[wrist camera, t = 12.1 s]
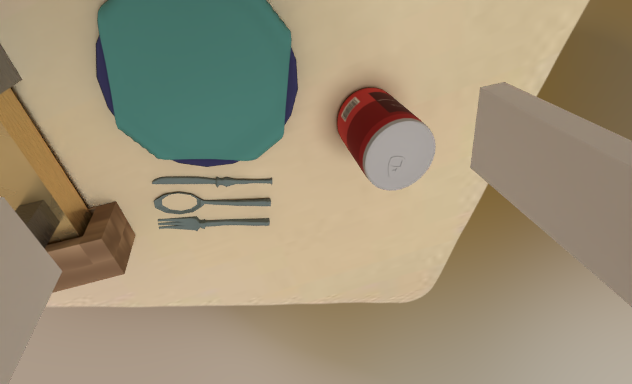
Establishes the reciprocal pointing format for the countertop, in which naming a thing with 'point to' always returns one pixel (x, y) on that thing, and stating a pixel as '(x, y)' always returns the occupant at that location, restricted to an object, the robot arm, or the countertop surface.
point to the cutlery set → (198, 86)
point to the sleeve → (7, 72)
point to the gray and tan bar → (36, 179)
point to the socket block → (94, 249)
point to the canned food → (385, 139)
